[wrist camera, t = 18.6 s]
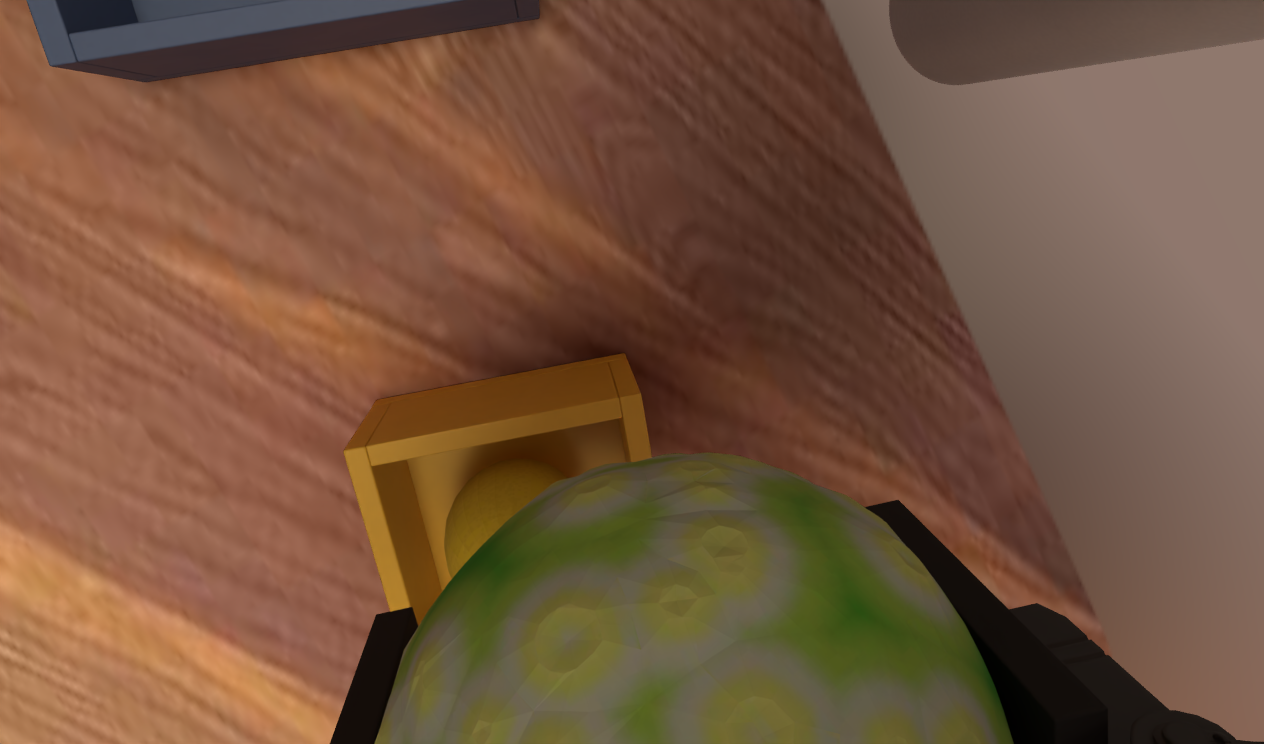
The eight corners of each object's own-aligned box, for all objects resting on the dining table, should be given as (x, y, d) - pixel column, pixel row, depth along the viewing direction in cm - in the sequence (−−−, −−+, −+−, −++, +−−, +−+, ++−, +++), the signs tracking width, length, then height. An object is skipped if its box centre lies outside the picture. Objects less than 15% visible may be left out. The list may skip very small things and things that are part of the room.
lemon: (601, 527, 35) (618, 634, 27) (480, 565, 34) (463, 683, 27) (563, 414, 33) (570, 494, 25) (437, 453, 33) (405, 546, 25)
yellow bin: (624, 352, 33) (641, 393, 28) (662, 569, 36) (684, 645, 31) (375, 399, 33) (342, 450, 27) (435, 616, 36) (415, 702, 30)
